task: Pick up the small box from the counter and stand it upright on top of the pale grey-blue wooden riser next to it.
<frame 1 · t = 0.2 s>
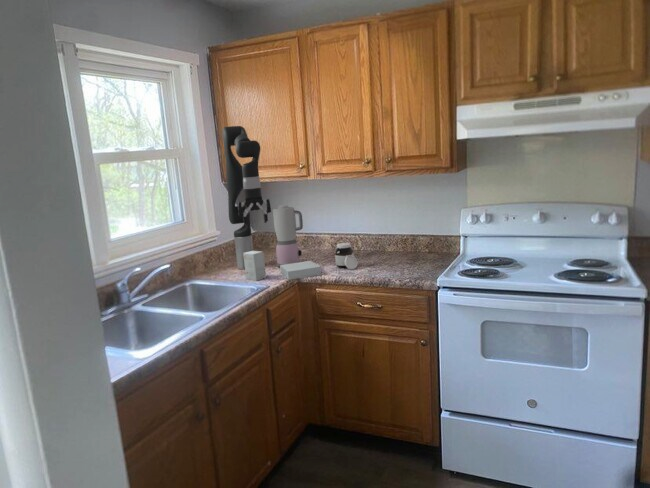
hand: (256, 223, 217), 28 cm above the worktop, tool pointing down, fingers open, 8 cm apart
riser: (300, 273, 238), on the worktop
blender: (292, 266, 258), on the worktop
small box: (256, 278, 237), on the worktop
spread jar: (347, 267, 244), on the worktop
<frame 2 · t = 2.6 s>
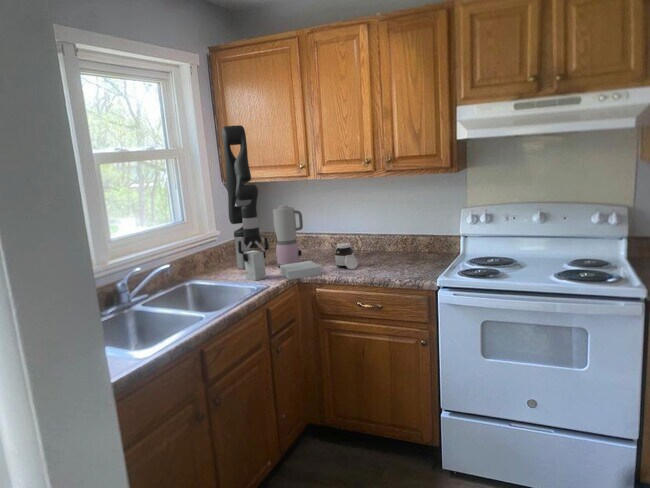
hand: (254, 260, 235), 9 cm above the worktop, tool pointing down, fingers open, 8 cm apart
small box: (256, 278, 237), on the worktop, touching gripper
everything else where it was.
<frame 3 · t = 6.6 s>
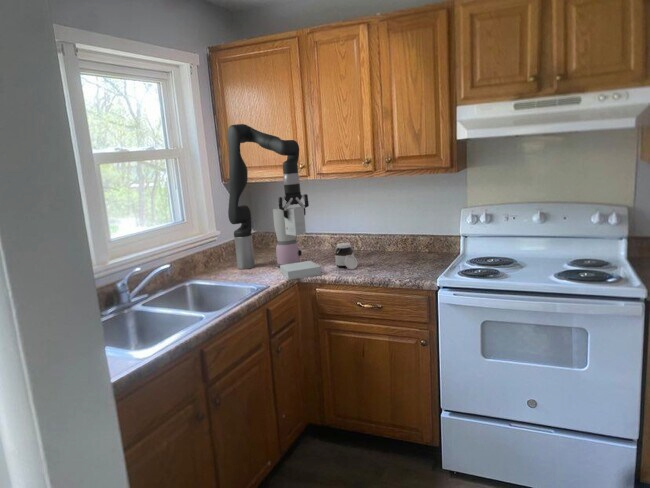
hand: (294, 217, 233), 28 cm above the worktop, tool pointing down, fingers closed on small box, 8 cm apart
small box: (296, 234, 235), point 19 cm above the worktop, touching gripper
everything else where it was.
when the fingers open (13 cm above the worktop, at t = 10.4 s): small box drops 1 cm, resting on riser.
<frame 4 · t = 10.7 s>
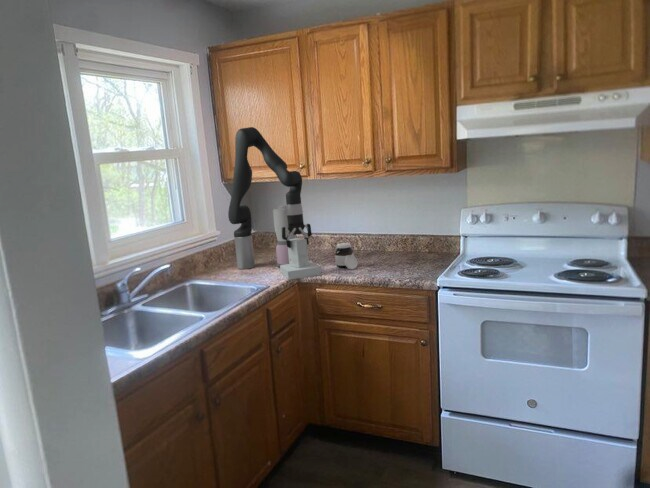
hand: (297, 246, 236), 14 cm above the worktop, tool pointing down, fingers open, 8 cm apart
small box: (299, 266, 238), point 4 cm above the worktop, touching riser
everything else where it was.
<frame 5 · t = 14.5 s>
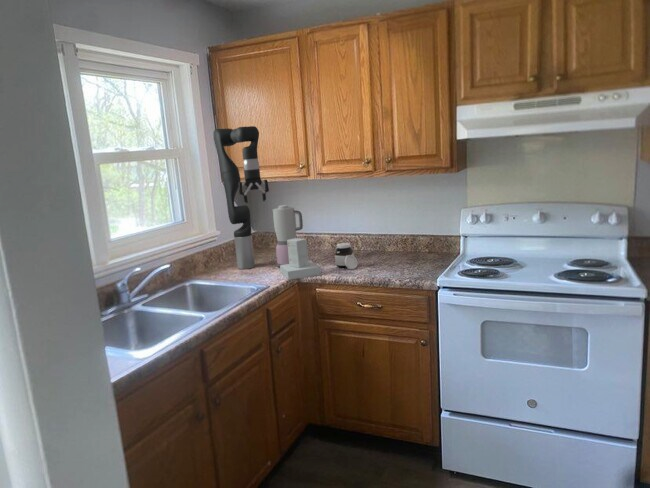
hand: (255, 202, 239), 36 cm above the worktop, tool pointing down, fingers open, 8 cm apart
nothing on the worktop moved.
at the end: small box inside the target area on the riser (0.6 cm from its centre), point 3.8 cm above the riser's base; small box tilted 0°; the gripper is holding nothing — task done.
